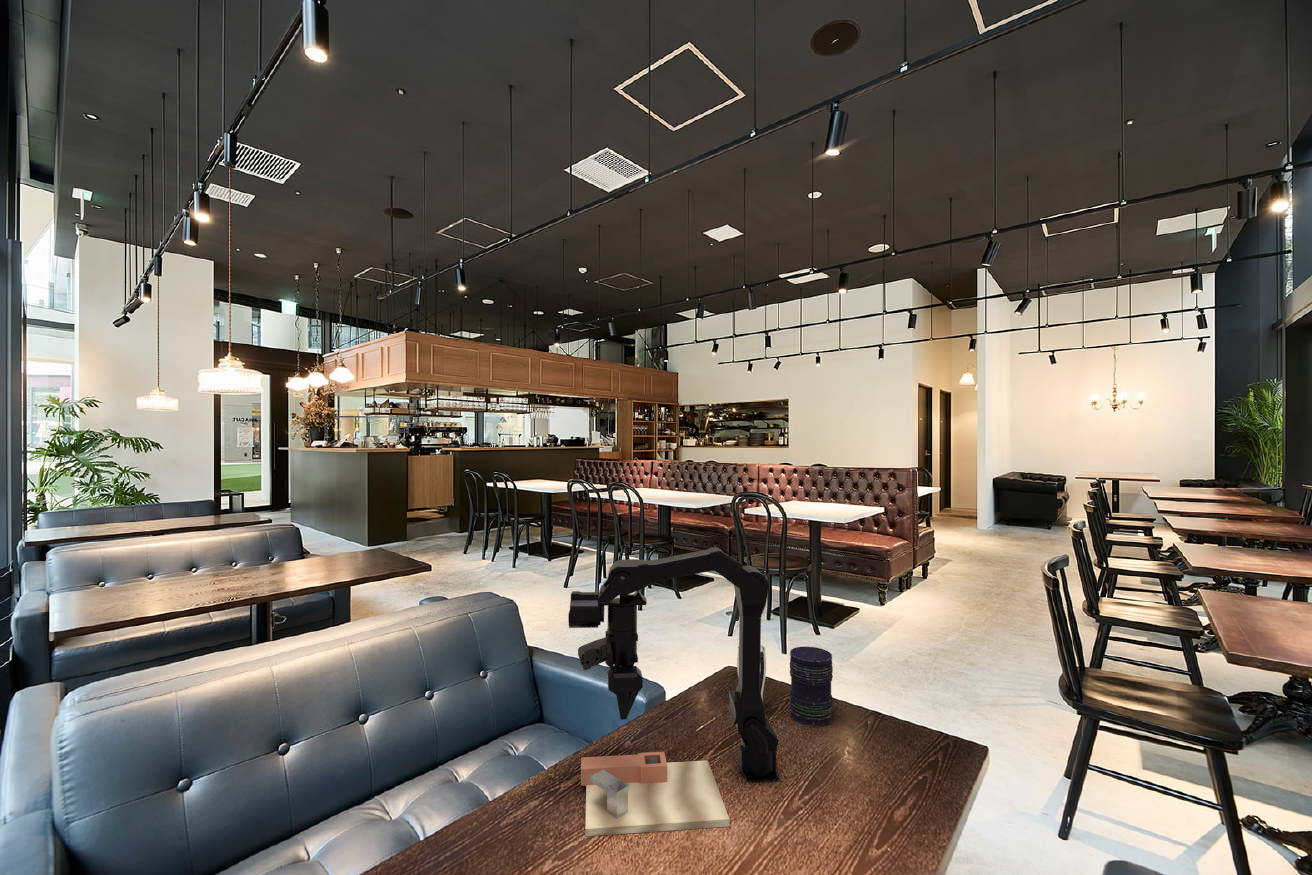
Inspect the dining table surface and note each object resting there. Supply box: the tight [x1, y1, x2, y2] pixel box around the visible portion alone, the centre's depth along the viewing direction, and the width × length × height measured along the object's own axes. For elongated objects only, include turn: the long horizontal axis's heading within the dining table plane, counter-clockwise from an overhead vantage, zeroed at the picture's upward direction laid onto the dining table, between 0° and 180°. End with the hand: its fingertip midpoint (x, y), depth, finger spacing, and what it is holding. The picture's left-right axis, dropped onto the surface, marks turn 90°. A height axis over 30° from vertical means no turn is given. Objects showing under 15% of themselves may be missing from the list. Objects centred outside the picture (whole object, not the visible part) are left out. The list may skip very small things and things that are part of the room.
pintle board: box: [584, 756, 730, 837], centre depth 103 cm, size 24×18×4 cm
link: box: [580, 751, 668, 787], centre depth 107 cm, size 16×5×3 cm, turn 96°
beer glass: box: [736, 645, 767, 706], centre depth 138 cm, size 7×7×15 cm
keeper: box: [590, 770, 629, 818], centre depth 98 cm, size 3×7×4 cm, turn 46°
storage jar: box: [789, 646, 834, 728], centre depth 134 cm, size 10×10×15 cm
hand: (621, 707), depth 110 cm, fingers open, 9 cm apart
